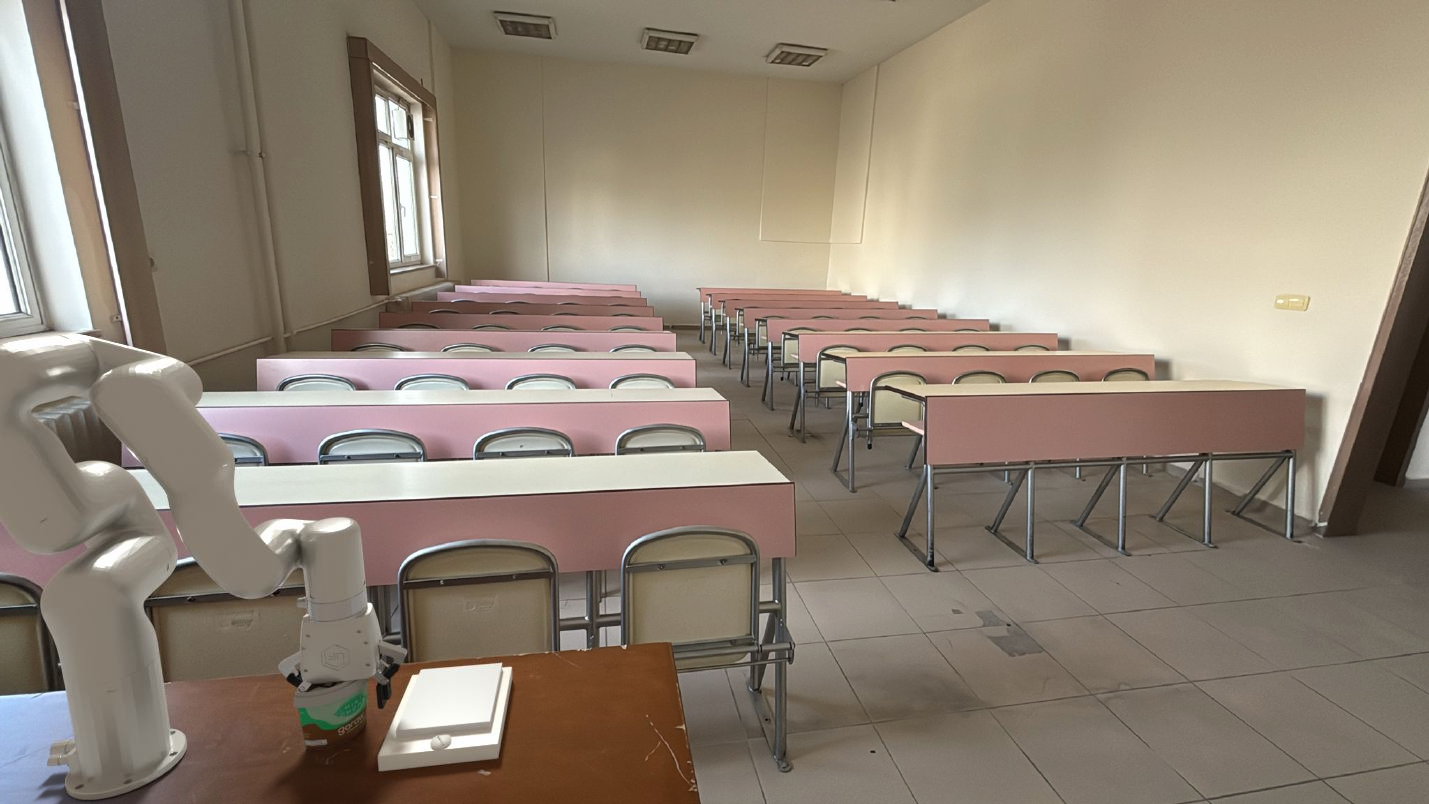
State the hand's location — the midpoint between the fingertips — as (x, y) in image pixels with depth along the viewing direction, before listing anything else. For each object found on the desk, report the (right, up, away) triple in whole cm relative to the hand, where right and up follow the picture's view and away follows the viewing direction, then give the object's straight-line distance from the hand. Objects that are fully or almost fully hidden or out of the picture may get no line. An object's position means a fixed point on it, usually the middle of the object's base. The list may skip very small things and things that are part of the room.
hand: (349, 706), depth 98 cm
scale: (+14, -4, +4) cm, 15 cm away
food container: (-1, -4, +1) cm, 4 cm away
